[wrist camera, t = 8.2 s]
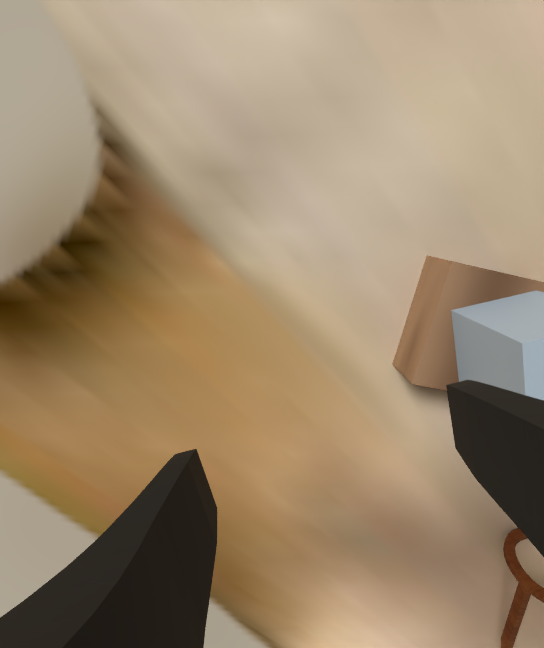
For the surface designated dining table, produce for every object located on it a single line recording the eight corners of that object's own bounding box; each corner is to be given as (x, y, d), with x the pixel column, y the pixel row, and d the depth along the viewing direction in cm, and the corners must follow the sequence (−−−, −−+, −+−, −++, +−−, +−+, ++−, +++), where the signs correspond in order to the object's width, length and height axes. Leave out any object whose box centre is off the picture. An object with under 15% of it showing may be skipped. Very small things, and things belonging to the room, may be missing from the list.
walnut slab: (529, 279, 21) (572, 289, 19) (489, 381, 23) (524, 405, 20) (424, 255, 21) (452, 261, 18) (390, 361, 22) (411, 384, 19)
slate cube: (536, 290, 18) (637, 316, 14) (540, 369, 20) (635, 420, 15) (451, 310, 18) (522, 343, 14) (459, 388, 20) (528, 444, 15)
